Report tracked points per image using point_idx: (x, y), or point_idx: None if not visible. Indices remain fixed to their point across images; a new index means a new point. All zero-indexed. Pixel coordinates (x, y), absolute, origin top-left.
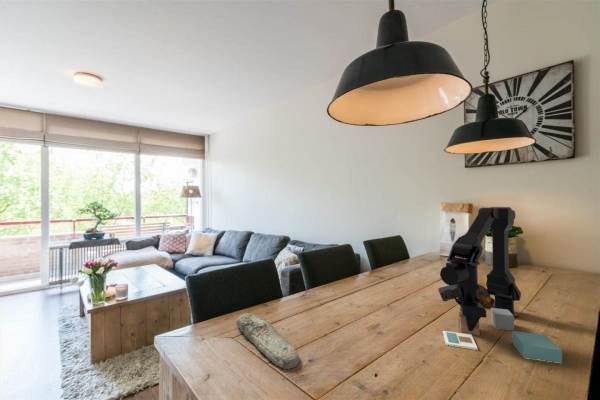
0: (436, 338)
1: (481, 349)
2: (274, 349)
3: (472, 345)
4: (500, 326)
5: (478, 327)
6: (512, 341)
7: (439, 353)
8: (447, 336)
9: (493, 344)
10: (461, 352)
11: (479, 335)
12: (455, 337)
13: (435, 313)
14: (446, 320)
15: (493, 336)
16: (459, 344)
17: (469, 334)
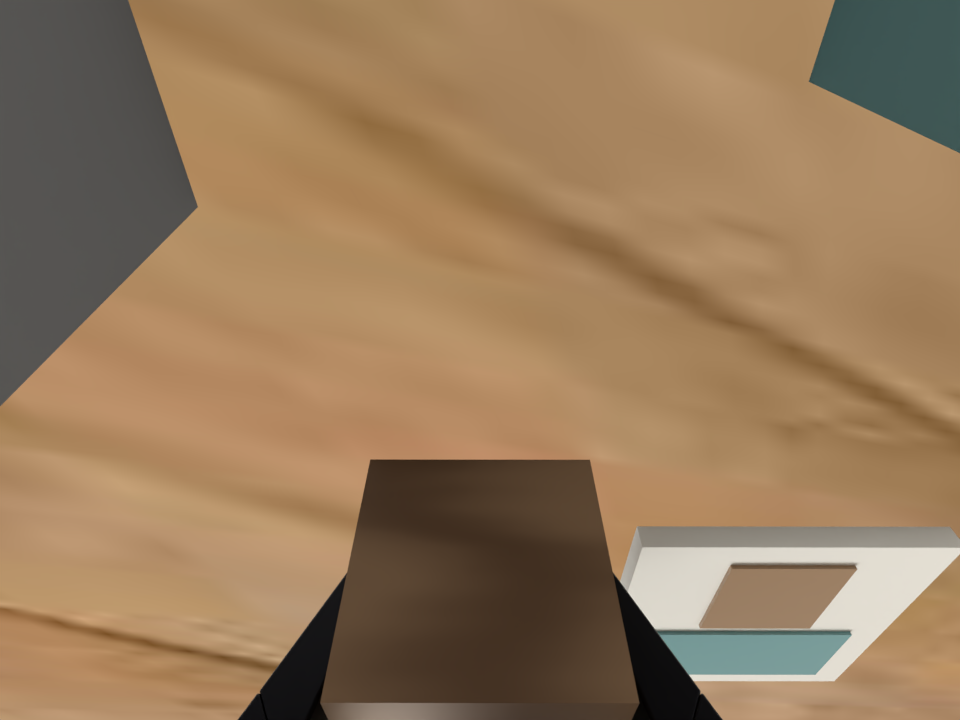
0: (710, 687)
1: (936, 498)
2: None
3: (898, 569)
4: (137, 134)
5: (608, 569)
6: (848, 93)
7: (938, 687)
8: (718, 673)
9: (832, 375)
10: (955, 611)
11: (590, 463)
12: (733, 642)
13: (172, 669)
14: (297, 629)
15: (572, 319)
16: (864, 631)
17: (639, 558)
